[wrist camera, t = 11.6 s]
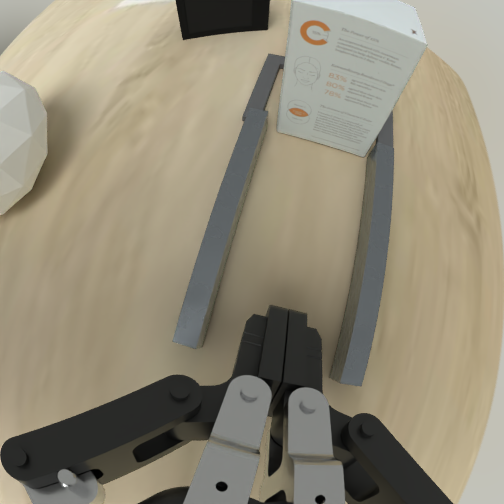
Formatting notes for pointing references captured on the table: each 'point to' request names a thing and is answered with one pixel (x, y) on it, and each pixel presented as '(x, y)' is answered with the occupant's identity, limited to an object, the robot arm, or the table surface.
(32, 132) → the geodesic sphere
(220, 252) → the grey u-shaped frame
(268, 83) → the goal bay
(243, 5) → the digital camera
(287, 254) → the table surface
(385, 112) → the small box
